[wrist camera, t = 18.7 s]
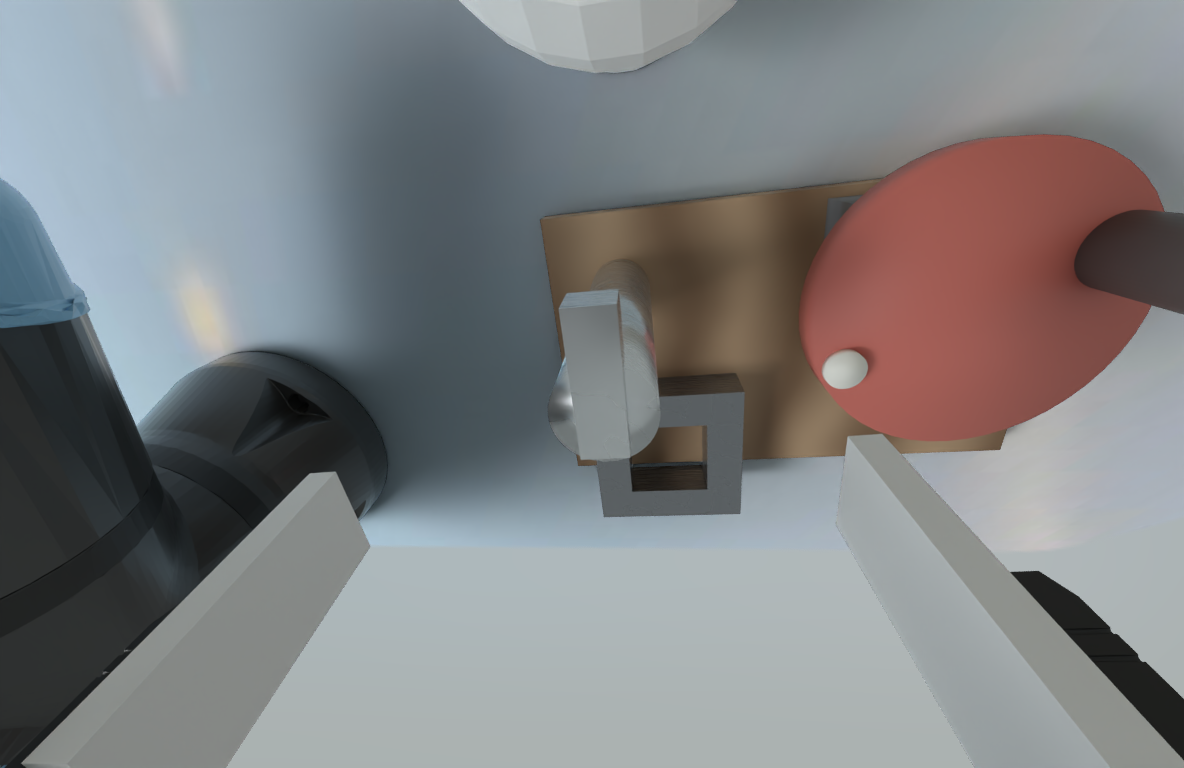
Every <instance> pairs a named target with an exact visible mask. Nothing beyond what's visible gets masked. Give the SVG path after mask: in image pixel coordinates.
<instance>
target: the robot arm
mask: <svg viewBox="0 0 1184 768" xmlns="http://www.w3.org/2000/svg"><path fill="white" fill-rule="evenodd" d="M89 310H90V308H89V305H88V303H87V298H86V297H85V294H84V291H83V290H81V289H80V288H79V287H78V286H77V285H76V284H75V283H73V282H72V281H71V279H70V277H69V275H68V274H67V272H66V270H65V268H64V266H63V264H62V262H61V260H60V258H59V256H58V254H57V252H56V250H55V248H54V246H53V244H52V242H51V240H50V238H49V236H48V234H47V232H46V230H45V228H44V226H43V224H42V222H41V221H40V219H39V217H38V215H37V213H36V212H35V210H34V209H33V207H32V206H31V204H30V203H29V202H28V201H27V200H26V199H25V198H24V196H23V195H22V194H21V193H20V192H18V191H17V190H16V189H15V188H14V187H12V186H11V185H10V184H8V183H7V182H6V181H4V180H3V179H1V178H0V768H226V767H227V765H228V764H229V762H230V761H231V759H232V757H233V756H234V755H235V753H236V751H237V750H238V748H239V747H240V745H241V744H242V742H243V740H244V739H245V738H246V736H247V735H248V733H249V731H250V730H251V728H252V727H253V725H254V724H255V722H256V721H257V719H258V718H259V716H260V715H261V713H262V712H263V710H264V709H265V707H266V706H267V704H268V703H269V701H270V699H271V698H272V696H273V695H274V693H275V692H276V690H277V689H278V687H279V686H280V684H281V683H282V681H283V680H284V678H285V676H286V675H287V673H288V672H289V670H290V669H291V667H292V666H293V664H294V663H295V661H296V660H297V658H298V656H299V655H300V653H301V652H302V651H303V649H304V647H305V646H306V644H307V642H308V641H309V640H310V638H311V637H312V635H313V633H314V632H315V631H316V629H317V628H318V626H319V624H320V623H321V621H322V620H323V618H324V616H325V615H326V614H327V612H328V611H329V609H330V608H331V606H332V605H333V603H334V601H335V600H336V599H337V597H338V595H339V594H340V592H341V591H342V589H343V588H344V586H345V585H346V583H347V581H348V580H349V579H350V577H351V575H352V574H353V572H354V571H355V569H356V568H357V566H358V565H359V563H360V562H361V560H362V559H363V557H364V556H365V554H366V553H367V551H368V549H369V548H370V545H369V542H368V540H367V538H366V536H365V534H364V532H363V529H362V527H361V525H360V523H359V521H360V520H361V518H362V517H363V516H364V515H365V514H366V512H367V511H368V510H369V509H370V507H371V506H372V505H373V503H374V502H375V501H376V499H377V498H378V497H379V495H380V493H381V492H382V490H383V487H384V484H385V481H386V476H387V457H386V452H385V448H384V444H383V441H382V439H381V436H380V434H379V432H378V430H377V428H376V426H375V424H374V423H373V421H372V419H371V418H370V417H369V415H368V414H367V412H366V411H365V410H364V408H363V407H362V406H361V405H360V404H359V403H358V401H357V400H356V399H355V398H354V397H353V396H352V395H351V394H350V393H348V392H347V391H346V390H345V389H344V388H343V387H342V386H340V385H339V384H338V383H336V382H335V381H334V380H332V379H331V378H329V377H328V376H326V375H325V374H323V373H322V372H320V371H318V370H316V369H314V368H312V367H310V366H309V365H306V364H304V363H302V362H299V361H297V360H294V359H291V358H288V357H285V356H281V355H276V354H271V353H264V352H241V353H235V354H230V355H227V356H224V357H221V358H219V359H217V360H215V361H213V362H211V363H209V364H206V365H204V366H202V367H200V368H198V369H196V370H194V371H192V372H191V373H189V374H188V375H186V376H185V377H183V378H182V379H181V380H179V381H178V382H177V383H176V384H175V385H174V386H173V387H172V388H171V390H170V391H169V392H168V393H167V394H166V395H165V396H164V397H163V398H162V399H161V400H160V401H159V402H158V403H157V404H156V405H155V407H154V408H153V409H152V410H151V411H150V412H149V413H148V414H147V415H146V416H145V417H144V418H143V419H142V421H141V422H140V423H139V424H138V425H137V426H136V425H135V422H134V420H133V418H132V415H131V413H130V411H129V409H128V406H127V404H126V402H125V399H124V397H123V395H122V392H121V390H120V388H119V385H118V383H117V381H116V379H115V376H114V374H113V372H112V369H111V367H110V365H109V362H108V360H107V358H106V355H105V353H104V351H103V349H102V346H101V344H100V342H99V339H98V337H97V335H96V332H95V330H94V328H93V325H92V323H91V321H90V318H89V316H88V314H87V313H88V312H89ZM836 526H837V528H838V529H839V531H840V533H841V535H842V536H843V538H844V540H845V542H846V543H847V545H848V547H849V549H850V550H851V552H852V553H853V556H854V557H855V559H856V561H857V563H858V564H859V566H860V568H861V570H862V571H863V573H864V575H865V577H866V578H867V580H868V582H869V584H870V585H871V587H872V589H873V591H874V592H875V594H876V596H877V598H878V599H879V601H880V603H881V605H882V607H883V608H884V610H885V612H886V613H887V615H888V617H889V619H890V621H891V622H892V624H893V626H894V628H895V629H896V631H897V633H898V634H899V636H900V638H901V640H902V642H903V643H904V645H905V647H906V648H907V650H908V652H909V654H910V655H911V657H912V659H913V661H914V663H915V664H916V666H917V668H918V670H919V671H920V673H921V675H922V677H923V678H924V680H925V682H926V684H927V685H928V687H929V689H930V691H931V692H932V694H933V696H934V698H935V699H936V701H937V703H938V705H939V706H940V708H941V710H942V712H943V713H944V715H945V717H946V718H947V721H948V722H949V724H950V726H951V728H952V729H953V731H954V733H955V734H956V736H957V738H958V740H959V741H960V743H961V745H962V747H963V749H964V750H965V752H966V754H967V756H968V757H969V759H970V761H971V763H972V764H973V766H974V768H1184V699H1183V698H1182V697H1181V696H1180V695H1179V694H1178V693H1177V692H1176V691H1175V690H1174V689H1173V688H1172V687H1171V686H1170V685H1169V684H1168V683H1167V682H1166V681H1165V680H1164V679H1163V678H1162V677H1161V676H1160V675H1159V674H1158V673H1156V671H1154V670H1153V669H1152V668H1151V667H1150V666H1149V665H1148V664H1147V663H1146V662H1142V661H1140V659H1139V658H1138V654H1137V653H1136V652H1135V651H1134V650H1133V649H1132V648H1131V647H1130V646H1129V645H1128V644H1127V643H1126V642H1125V641H1124V640H1123V639H1121V638H1120V636H1119V635H1117V634H1113V633H1112V632H1111V630H1110V627H1109V626H1108V625H1107V624H1106V623H1105V622H1104V621H1103V620H1102V619H1101V618H1100V617H1099V616H1098V615H1097V614H1096V613H1095V612H1094V611H1093V610H1092V609H1091V608H1090V607H1089V606H1088V605H1087V604H1086V603H1085V602H1084V601H1083V600H1081V599H1080V598H1079V597H1078V596H1077V595H1075V594H1074V593H1072V592H1070V591H1069V590H1067V589H1066V588H1064V587H1063V586H1061V585H1060V584H1058V583H1056V582H1055V581H1053V580H1052V579H1050V578H1049V577H1047V576H1046V575H1044V574H1042V573H1041V572H1039V571H1026V572H1025V571H1024V572H1009V571H1008V570H1007V569H1006V568H1005V566H1004V565H1003V564H1002V563H1001V562H1000V561H999V560H998V559H997V558H996V557H995V556H994V554H993V553H992V552H991V551H990V550H989V549H988V548H987V547H986V546H985V545H984V544H983V543H982V541H981V540H980V539H979V538H978V537H977V536H976V535H975V534H974V533H973V532H972V531H971V530H970V528H969V527H968V526H967V525H966V524H965V523H964V522H963V521H962V520H961V519H960V518H959V517H958V515H957V514H956V513H955V512H954V511H953V510H952V509H951V508H950V507H949V506H948V505H947V504H946V502H945V501H944V500H943V499H942V498H941V497H940V496H939V495H938V494H937V493H936V492H935V491H934V489H933V488H932V487H931V486H930V485H929V484H928V483H927V482H926V481H925V480H924V479H923V478H922V476H921V475H920V474H919V473H918V472H917V471H916V470H915V469H914V468H913V467H912V466H911V465H910V463H909V462H908V461H907V460H906V459H905V458H904V457H903V456H902V455H901V454H900V453H899V452H898V450H897V449H896V448H895V447H894V446H893V445H892V444H891V443H890V442H889V441H888V440H887V439H886V437H885V436H884V435H883V434H873V435H859V436H848V438H847V445H846V453H845V460H844V467H843V474H842V482H841V489H840V496H839V503H838V511H837V518H836Z"/></svg>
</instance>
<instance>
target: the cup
mask: <svg viewBox="0 0 1184 768" xmlns="http://www.w3.org/2000/svg"><path fill="white" fill-rule="evenodd" d="M459 1H460V2H461V3H462V4H463V5H464V6H465V7H466V8H467V9H468V10H470V11H471V12H472V13H473V14H474V15H475V16H476V17H477V18H478V19H479V20H480V21H481V22H483V23H484V24H485V25H486V26H487V27H488V28H489V29H491V30H492V31H493V32H494V33H495V34H496V35H498V36H499V37H500V38H501V39H502V40H504V41H505V42H506V43H507V44H509V45H511V46H513V47H515V48H517V49H519V50H521V51H523V52H525V53H527V54H529V55H531V56H533V57H535V58H537V59H539V60H541V61H543V62H545V63H547V64H548V65H550V66H556V67H562V68H568V69H574V70H580V71H586V72H592V73H601V72H610V73H620V72H627V71H634V70H637V69H639V68H641V67H643V66H645V65H648V64H650V63H652V62H654V61H656V60H657V59H659V58H661V57H664V56H666V55H668V54H670V53H672V52H674V51H676V50H678V49H680V48H682V47H685V46H687V45H689V44H690V43H691V42H692V41H694V40H695V39H696V38H697V37H698V36H699V35H701V34H702V33H703V32H704V31H705V30H707V29H708V28H709V27H710V26H711V25H712V24H714V23H715V22H716V21H717V20H718V19H719V18H721V17H722V16H723V15H724V14H725V13H726V12H728V11H729V10H730V9H731V8H732V7H733V6H734V5H735V3H736V2H737V1H738V0H459Z"/></svg>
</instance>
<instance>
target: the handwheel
mask: <svg viewBox="0 0 1184 768" xmlns="http://www.w3.org/2000/svg"><path fill="white" fill-rule="evenodd" d="M1151 305H1153V306H1156V307H1160V308H1163V309H1167V310H1170V311H1173V312H1177V313H1180V314H1184V214H1182V213H1172V212H1165V211H1164V209H1163V206H1162V203H1161V201H1160V198H1159V196H1158V193H1157V191H1156V190H1155V188H1154V187H1153V185H1152V184H1151V182H1150V181H1149V179H1148V178H1147V176H1146V175H1145V174H1144V173H1143V172H1142V171H1141V170H1140V169H1139V168H1138V167H1137V166H1136V165H1135V164H1134V163H1133V162H1132V161H1131V160H1129V159H1128V158H1126V157H1124V156H1123V155H1121V154H1120V153H1118V152H1117V151H1115V150H1114V149H1111V148H1109V147H1106V146H1104V145H1101V144H1099V143H1096V142H1094V141H1090V140H1086V139H1081V138H1076V137H1072V136H1062V135H1045V134H1043V135H1025V136H1007V137H994V138H981V139H976V140H971V141H966V142H961V143H957V144H953V145H951V146H948V147H945V148H942V149H939V150H936V151H933V152H930V153H928V154H926V155H924V156H922V157H920V158H917V159H915V160H913V161H911V162H909V163H907V164H906V165H904V166H902V167H901V168H899V169H897V170H896V171H894V172H892V173H891V174H889V175H888V176H886V177H885V178H884V179H882V180H881V181H880V182H878V183H877V184H876V185H874V186H873V187H872V188H870V189H869V190H868V191H867V192H866V193H865V194H863V195H862V196H861V197H860V198H859V199H858V200H857V201H856V202H855V203H854V204H853V205H852V206H851V207H850V208H849V209H848V210H847V211H846V212H845V213H844V215H843V216H842V217H841V218H840V219H839V220H838V221H837V223H836V224H835V225H834V227H833V228H832V229H831V231H830V232H829V234H828V235H827V237H826V238H825V239H824V241H823V243H822V244H821V246H820V248H819V250H818V252H817V253H816V255H815V257H814V259H813V261H812V264H811V266H810V269H809V271H808V273H807V276H806V279H805V282H804V286H803V290H802V294H801V299H800V307H799V333H800V339H801V345H802V348H803V351H804V354H805V357H806V360H807V362H808V364H809V366H810V368H811V370H812V372H813V373H814V375H815V376H816V377H817V379H818V380H819V381H820V383H821V384H822V385H823V386H824V388H825V389H826V390H827V391H828V393H829V394H830V395H831V396H832V398H833V399H834V400H835V401H836V403H837V404H838V405H839V406H840V407H842V408H843V409H844V410H845V411H846V412H847V413H848V414H849V415H850V416H852V417H853V418H855V419H856V420H858V421H859V422H860V423H862V424H864V425H866V426H868V427H870V428H872V429H874V430H876V431H879V432H882V433H885V434H888V435H891V436H894V437H899V438H904V439H909V440H919V441H952V440H961V439H968V438H973V437H978V436H983V435H987V434H991V433H994V432H997V431H1001V430H1004V429H1007V428H1010V427H1012V426H1015V425H1017V424H1020V423H1022V422H1025V421H1027V420H1029V419H1031V418H1034V417H1036V416H1038V415H1040V414H1042V413H1044V412H1046V411H1048V410H1049V409H1051V408H1053V407H1054V406H1056V405H1058V404H1059V403H1061V402H1063V401H1064V400H1066V399H1067V398H1069V397H1070V396H1072V395H1073V394H1074V393H1076V392H1077V391H1078V390H1080V389H1081V388H1083V387H1084V386H1085V385H1087V384H1088V383H1089V382H1090V381H1091V380H1092V379H1094V378H1095V377H1096V376H1097V375H1098V374H1099V373H1100V372H1102V371H1103V370H1104V369H1105V368H1106V367H1107V366H1108V365H1109V364H1110V363H1111V362H1112V361H1113V359H1114V358H1115V357H1116V356H1117V355H1118V354H1119V353H1120V352H1121V351H1122V350H1123V348H1124V347H1125V346H1126V345H1127V343H1128V342H1129V341H1130V339H1131V338H1132V337H1133V336H1134V334H1135V333H1136V331H1137V330H1138V328H1139V327H1140V325H1141V323H1142V322H1143V320H1144V319H1145V317H1146V315H1147V314H1148V312H1149V310H1150V307H1151Z"/></svg>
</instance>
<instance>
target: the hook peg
mask: <svg viewBox="0 0 1184 768" xmlns="http://www.w3.org/2000/svg"><path fill="white" fill-rule="evenodd" d="M559 316H560V323H561V329H562V336H563V343H564V350H565V358H564V361H563V363H562V366H561V369H560V371H559V374H558V377H557V380H556V382H555V385H554V388H553V390H552V393H551V396H550V399H549V403H548V419H549V423H550V426H551V428H552V430H553V432H554V434H555V436H556V437H557V438H558V440H559V441H560V442H561V443H562V444H563V445H564V446H565V447H566V448H568V449H569V450H570V451H572V452H573V453H575V454H577V455H579V456H580V459H581V460H588V459H590V460H595V461H606V462H609V461H618V460H623V459H626V458H630V457H631V456H633V455H635V454H637V453H639V452H640V451H642V450H643V449H644V448H645V447H646V446H647V445H648V444H649V443H650V442H651V441H652V439H653V438H654V436H655V434H656V432H657V430H658V427H659V423H660V402H659V390H658V378H657V366H656V354H655V343H654V331H653V319H652V307H651V295H650V284H649V279H648V277H647V275H646V273H645V271H644V270H643V269H642V268H641V267H640V266H639V265H638V264H636V263H634V262H632V261H629V260H624V259H618V260H613V261H610V262H608V263H606V264H605V265H603V266H602V267H601V268H600V269H599V270H598V272H597V273H596V275H595V277H594V280H593V282H592V285H591V288H590V290H589V291H587V292H575V293H567V294H566V296H565V297H564V299H563V301H562V303H561V305H560V307H559Z"/></svg>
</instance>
